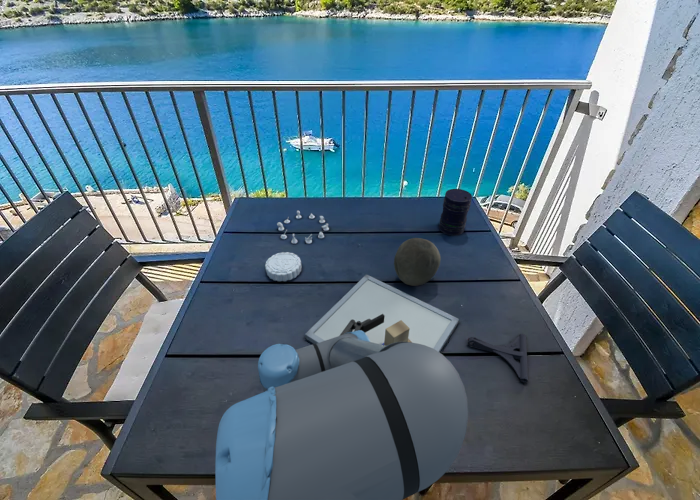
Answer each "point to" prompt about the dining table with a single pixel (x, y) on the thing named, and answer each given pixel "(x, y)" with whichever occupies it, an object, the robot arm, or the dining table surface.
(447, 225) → the storage jar
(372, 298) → the board
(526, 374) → the bracket
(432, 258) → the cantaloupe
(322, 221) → the game piece set
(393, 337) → the eraser
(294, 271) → the mooncake
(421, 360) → the robot arm
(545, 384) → the dining table surface
